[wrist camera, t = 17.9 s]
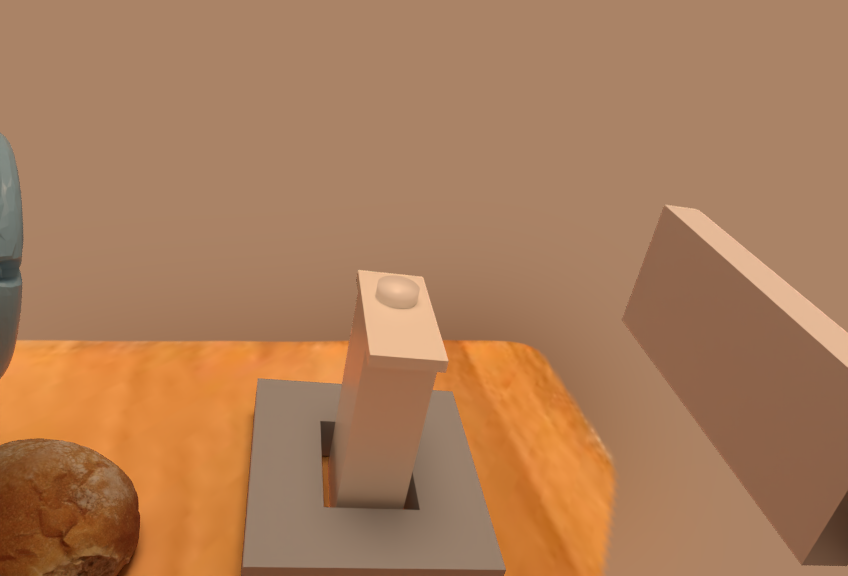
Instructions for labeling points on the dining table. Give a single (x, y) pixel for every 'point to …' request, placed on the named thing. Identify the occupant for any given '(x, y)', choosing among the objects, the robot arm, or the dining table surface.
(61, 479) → the bread roll
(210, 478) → the dining table surface
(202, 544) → the dining table surface
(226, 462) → the dining table surface
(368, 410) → the cream block
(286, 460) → the frame
